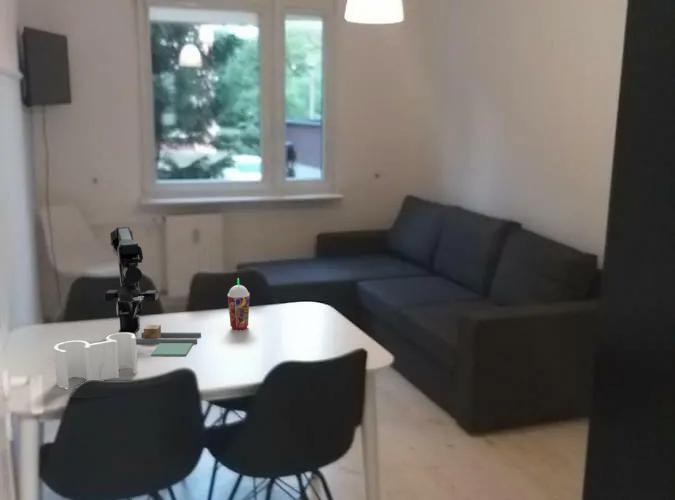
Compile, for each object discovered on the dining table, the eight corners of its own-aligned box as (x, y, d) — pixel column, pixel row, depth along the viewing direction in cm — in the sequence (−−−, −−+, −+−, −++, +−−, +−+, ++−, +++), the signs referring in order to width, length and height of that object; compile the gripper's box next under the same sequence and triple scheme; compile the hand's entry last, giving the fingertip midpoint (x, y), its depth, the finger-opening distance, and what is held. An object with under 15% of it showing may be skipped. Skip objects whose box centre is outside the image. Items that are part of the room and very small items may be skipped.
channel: (136, 343, 270) (135, 339, 270) (142, 336, 278) (142, 332, 278) (196, 343, 270) (196, 339, 269) (201, 336, 278) (200, 332, 278)
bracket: (130, 365, 247) (128, 330, 245) (141, 373, 240) (139, 337, 237) (52, 381, 233) (49, 344, 231) (61, 390, 225) (58, 352, 223)
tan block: (144, 342, 272) (143, 328, 271) (147, 337, 276) (147, 324, 275) (157, 342, 271) (157, 328, 271) (161, 337, 276) (160, 324, 275)
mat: (151, 355, 256) (151, 354, 256) (159, 344, 268) (159, 343, 268) (185, 356, 256) (185, 354, 256) (192, 344, 268) (192, 343, 268)
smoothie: (248, 331, 283) (247, 280, 279) (226, 331, 283) (225, 280, 280) (251, 325, 291) (250, 275, 288) (230, 325, 292) (229, 275, 288)
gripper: (97, 282, 262) (100, 324, 265) (150, 282, 261) (152, 324, 265) (107, 274, 273) (109, 315, 276) (158, 274, 272) (160, 316, 275)
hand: (132, 318), depth 273 cm, fingers closed
